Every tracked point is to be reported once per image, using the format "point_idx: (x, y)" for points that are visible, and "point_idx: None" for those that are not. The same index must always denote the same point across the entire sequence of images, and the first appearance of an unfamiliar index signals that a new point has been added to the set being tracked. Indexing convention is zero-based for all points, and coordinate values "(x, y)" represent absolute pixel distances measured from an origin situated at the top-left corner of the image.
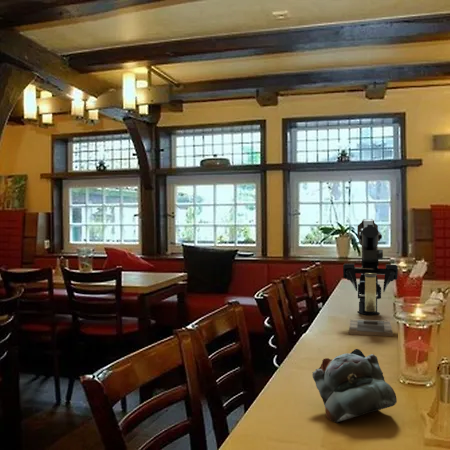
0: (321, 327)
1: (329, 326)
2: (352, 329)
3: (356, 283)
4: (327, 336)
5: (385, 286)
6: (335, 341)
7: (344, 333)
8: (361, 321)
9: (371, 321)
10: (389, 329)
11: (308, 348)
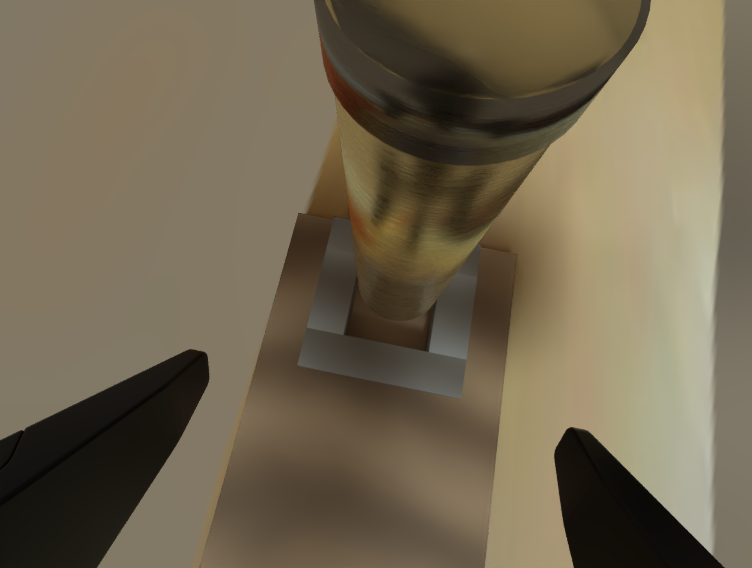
0: (662, 424)
1: (615, 457)
2: (494, 290)
3: (633, 508)
4: (617, 210)
5: (140, 376)
6: (579, 125)
7: (532, 273)
8: (442, 345)
9: (378, 347)
10: (289, 295)
11: (680, 30)
